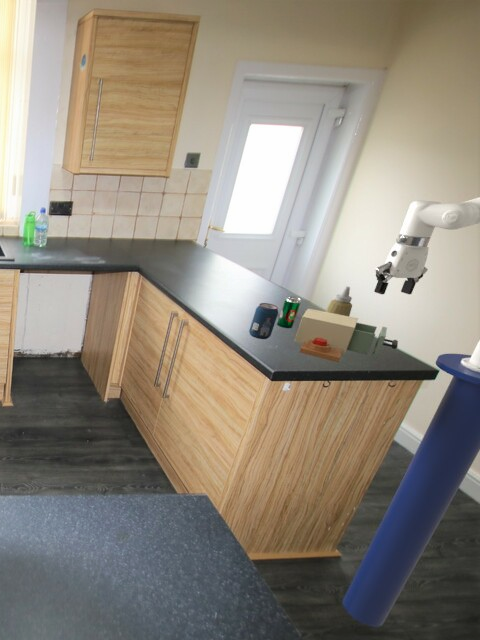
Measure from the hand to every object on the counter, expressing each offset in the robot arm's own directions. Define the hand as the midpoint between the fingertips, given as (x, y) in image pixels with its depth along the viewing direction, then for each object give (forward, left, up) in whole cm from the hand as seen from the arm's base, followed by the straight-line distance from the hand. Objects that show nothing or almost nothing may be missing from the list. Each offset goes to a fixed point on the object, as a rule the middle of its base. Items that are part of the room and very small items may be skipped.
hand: (392, 293), depth 156 cm
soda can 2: (+27, -3, -21) cm, 34 cm away
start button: (+14, +17, -18) cm, 28 cm away
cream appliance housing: (+14, +5, -21) cm, 25 cm away
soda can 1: (+32, +15, -21) cm, 41 cm away
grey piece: (+3, +5, -20) cm, 21 cm away
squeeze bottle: (+13, -11, -21) cm, 27 cm away
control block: (+13, +17, -21) cm, 30 cm away
